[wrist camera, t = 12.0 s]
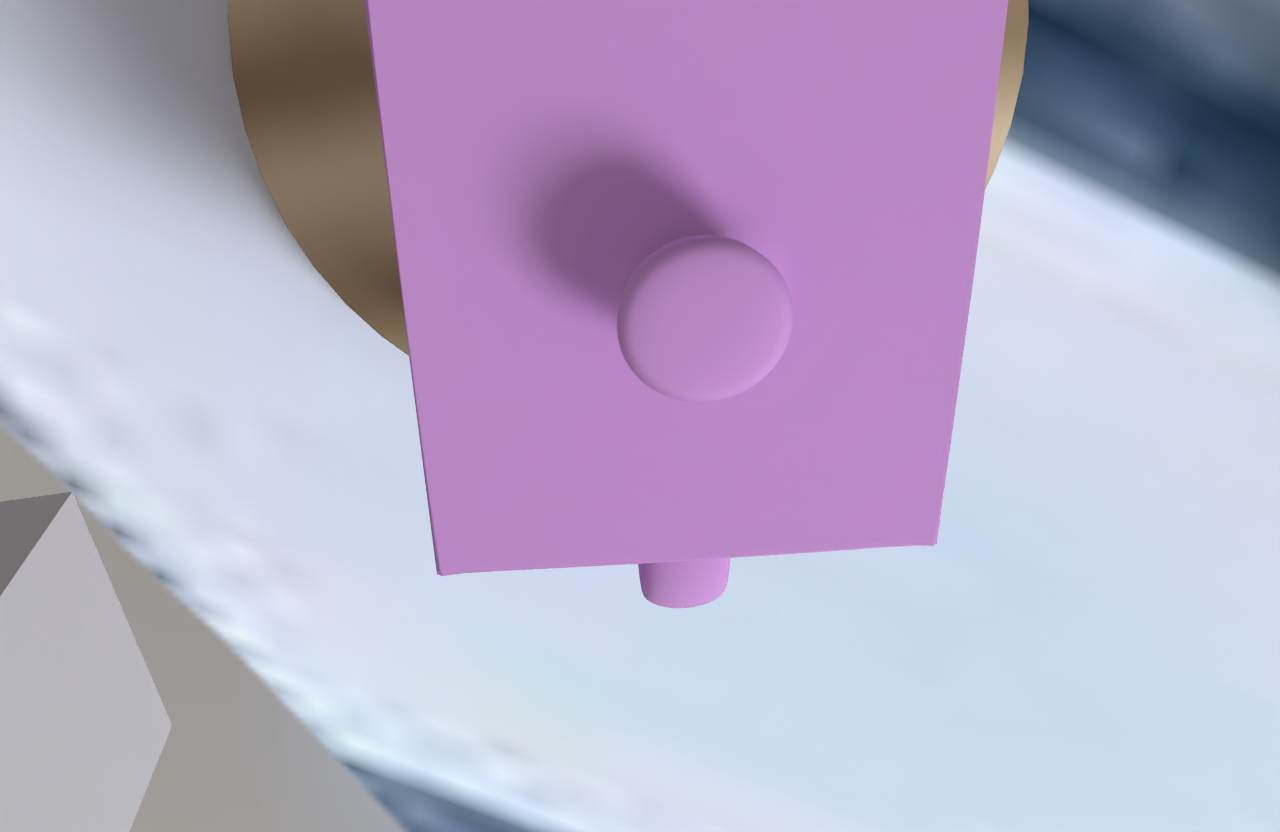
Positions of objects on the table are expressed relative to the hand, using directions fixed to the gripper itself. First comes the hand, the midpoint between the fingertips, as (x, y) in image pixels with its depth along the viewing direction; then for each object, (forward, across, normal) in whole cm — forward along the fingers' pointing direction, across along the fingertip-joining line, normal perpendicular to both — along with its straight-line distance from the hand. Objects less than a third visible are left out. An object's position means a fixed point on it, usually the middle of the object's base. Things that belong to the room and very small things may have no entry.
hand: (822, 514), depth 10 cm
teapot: (+21, 0, 0) cm, 21 cm away
